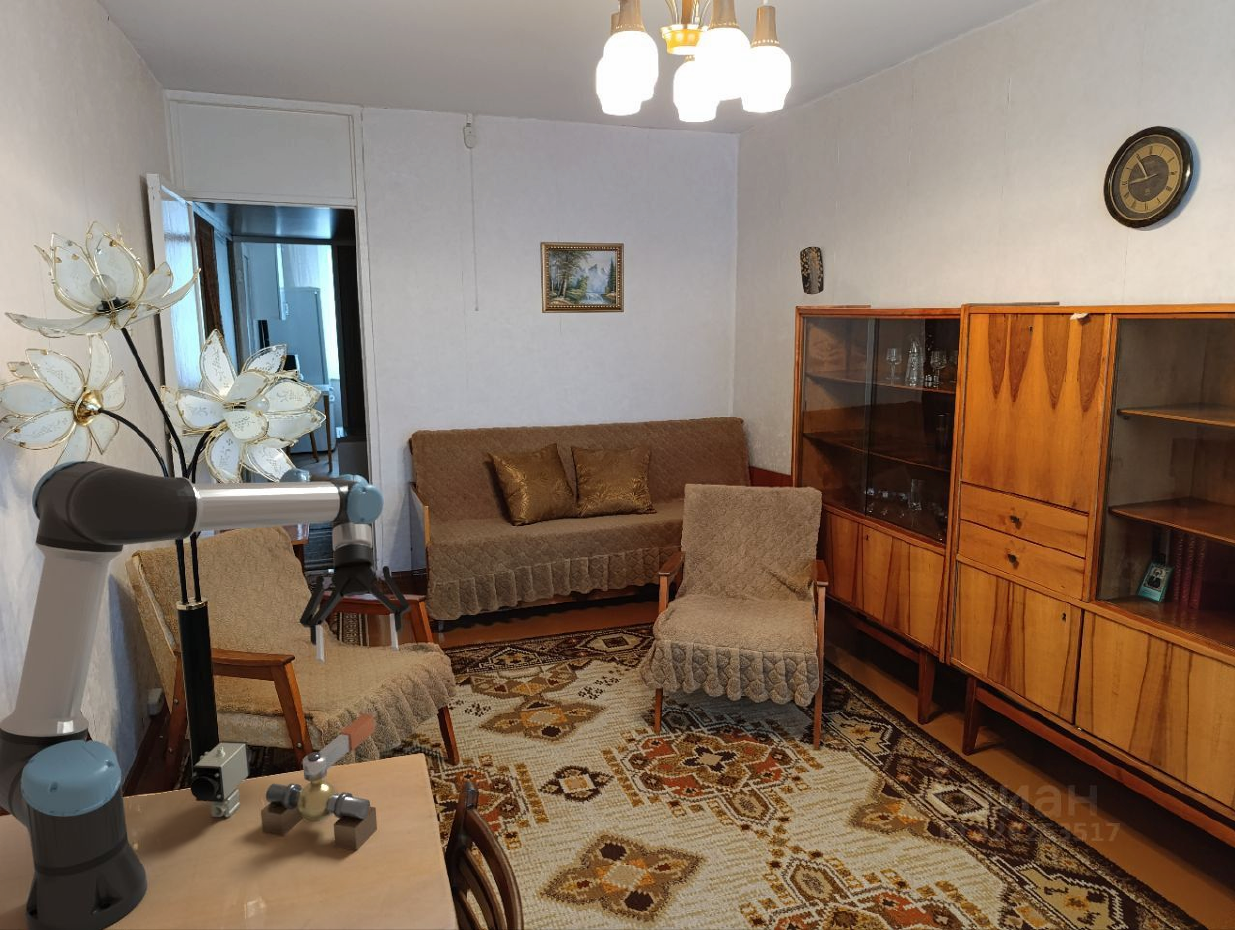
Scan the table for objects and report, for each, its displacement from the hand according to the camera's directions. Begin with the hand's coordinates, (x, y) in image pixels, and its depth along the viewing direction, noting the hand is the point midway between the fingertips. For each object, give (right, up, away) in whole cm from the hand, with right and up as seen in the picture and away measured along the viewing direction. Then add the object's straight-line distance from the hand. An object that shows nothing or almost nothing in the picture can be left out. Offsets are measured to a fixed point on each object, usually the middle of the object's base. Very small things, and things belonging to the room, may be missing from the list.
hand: (358, 655), depth 159 cm
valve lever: (0, -15, -11) cm, 19 cm away
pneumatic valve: (-20, -25, -10) cm, 34 cm away
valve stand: (-2, -26, -16) cm, 31 cm away
